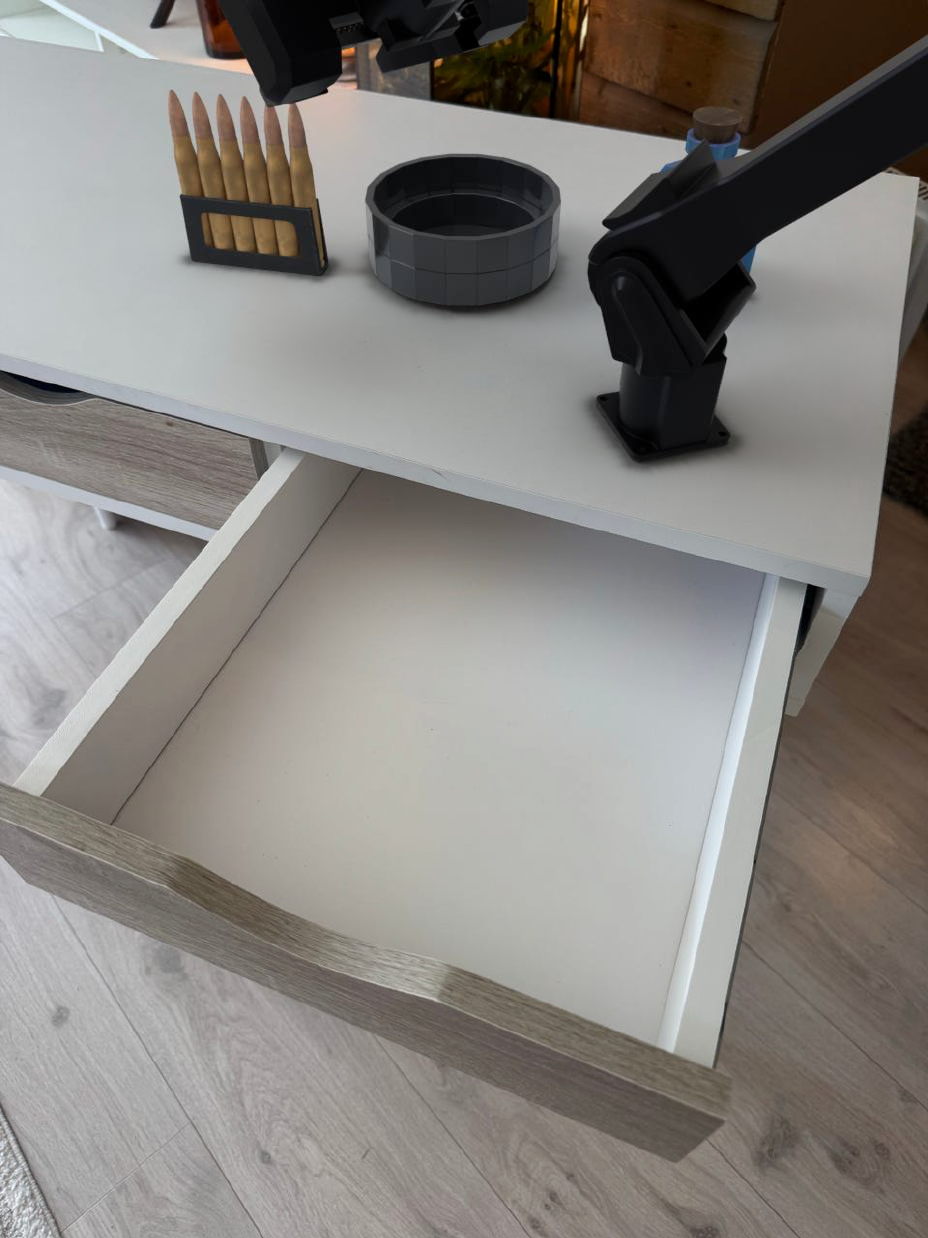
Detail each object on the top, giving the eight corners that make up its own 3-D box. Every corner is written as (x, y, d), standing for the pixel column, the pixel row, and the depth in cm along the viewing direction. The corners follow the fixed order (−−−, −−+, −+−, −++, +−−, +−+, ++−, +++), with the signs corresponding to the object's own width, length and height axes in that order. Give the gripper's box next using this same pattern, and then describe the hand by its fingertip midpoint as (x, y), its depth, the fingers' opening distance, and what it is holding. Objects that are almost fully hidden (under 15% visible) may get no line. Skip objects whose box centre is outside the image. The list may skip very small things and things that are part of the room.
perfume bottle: (680, 317, 67) (714, 142, 58) (626, 280, 70) (650, 109, 61) (744, 294, 69) (786, 121, 60) (689, 259, 73) (720, 91, 64)
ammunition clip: (329, 264, 72) (310, 96, 63) (321, 275, 71) (301, 106, 62) (200, 249, 74) (164, 83, 65) (190, 260, 73) (152, 93, 64)
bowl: (582, 296, 69) (590, 223, 65) (396, 326, 66) (392, 252, 62) (519, 212, 78) (522, 143, 74) (353, 235, 75) (347, 165, 71)
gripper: (516, -272, 49) (378, -74, 62) (211, -251, 40) (126, -25, 53) (602, -50, 51) (453, 95, 64) (336, 17, 42) (225, 169, 56)
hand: (325, 81), depth 59 cm, fingers open, 9 cm apart
